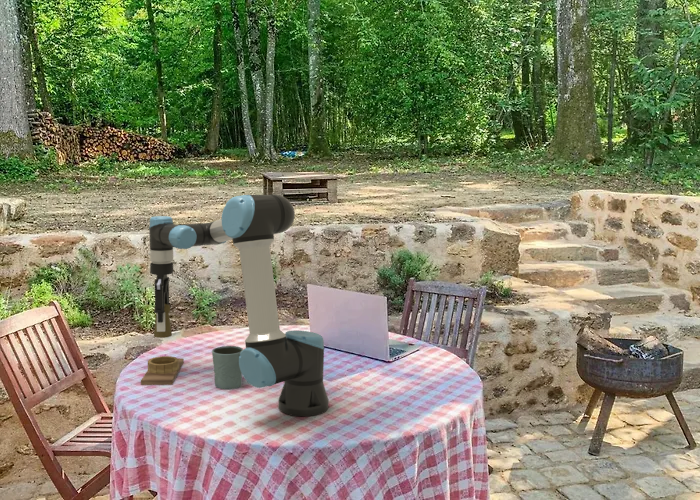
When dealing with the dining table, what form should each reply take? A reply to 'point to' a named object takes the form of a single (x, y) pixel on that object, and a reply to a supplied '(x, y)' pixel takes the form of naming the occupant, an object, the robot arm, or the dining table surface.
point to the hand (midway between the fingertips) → (162, 328)
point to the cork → (167, 324)
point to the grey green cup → (227, 367)
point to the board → (162, 370)
